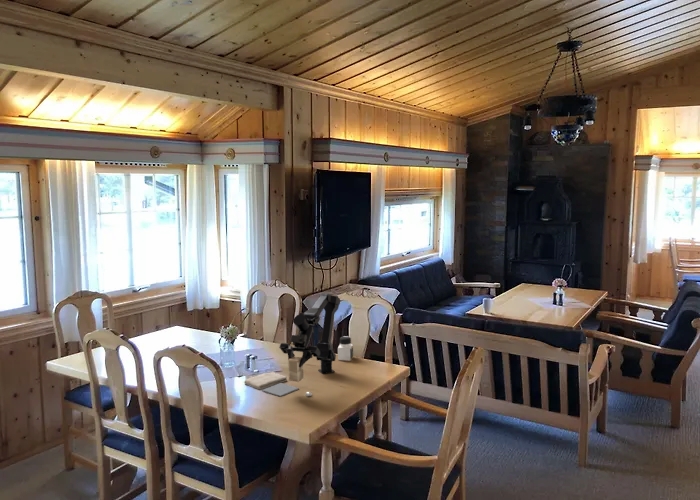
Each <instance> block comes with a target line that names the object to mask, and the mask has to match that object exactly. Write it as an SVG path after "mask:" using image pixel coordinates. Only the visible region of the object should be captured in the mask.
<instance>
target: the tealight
mask: <svg viewBox="0 0 700 500" xmlns="http://www.w3.org/2000/svg"><path fill="white" fill-rule="evenodd" d="M304 395H305V397H308V398H309V397H312V395H313V393H312V392H311V391H305V394H304Z"/></svg>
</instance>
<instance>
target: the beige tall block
mask: <svg viewBox="0 0 700 500" xmlns="http://www.w3.org/2000/svg"><path fill="white" fill-rule="evenodd" d="M301 358H302V356H301V357H300V356H294V357H292V358H290V359H288V358H287V366H288V367H287V371H288V372H287V373H288V381H289V382H297V383H299V382H300V381H302V380H303V379H305V378H304V364H303V365H302V366H301V367H299V364H300V361H301Z"/></svg>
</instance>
